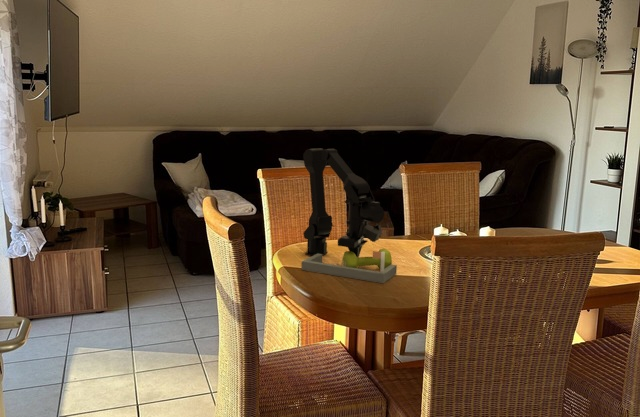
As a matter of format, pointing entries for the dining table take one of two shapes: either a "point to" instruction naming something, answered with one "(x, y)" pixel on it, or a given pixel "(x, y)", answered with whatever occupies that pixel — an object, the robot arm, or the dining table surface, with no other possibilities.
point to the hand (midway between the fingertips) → (355, 261)
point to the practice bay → (350, 269)
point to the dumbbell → (365, 260)
